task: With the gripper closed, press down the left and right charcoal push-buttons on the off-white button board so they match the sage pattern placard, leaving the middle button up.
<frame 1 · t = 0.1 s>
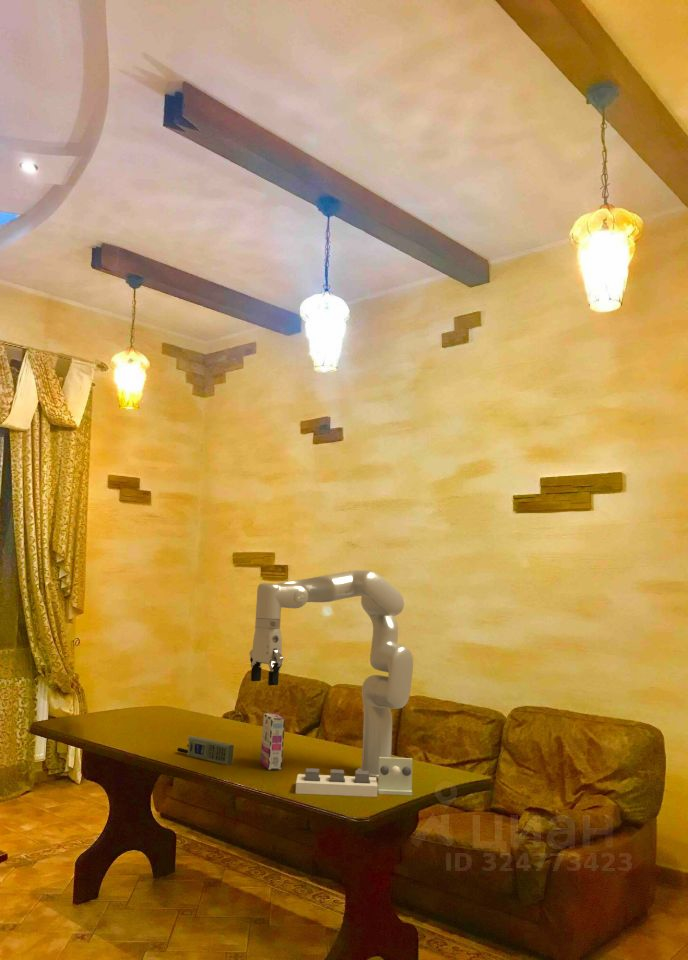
hand: (264, 683, 214), 31 cm above the table, tool pointing down, fingers open, 9 cm apart
middle button: (337, 777, 215), point 4 cm above the table, slide at 0.0 cm
handheld radio: (203, 759, 247), on the table
candy bar box: (271, 766, 241), on the table
left button: (312, 775, 215), point 4 cm above the table, slide at 0.0 cm
right button: (361, 778, 215), point 4 cm above the table, slide at 0.0 cm
pattern placard: (394, 792, 215), on the table
button board: (336, 790, 215), on the table
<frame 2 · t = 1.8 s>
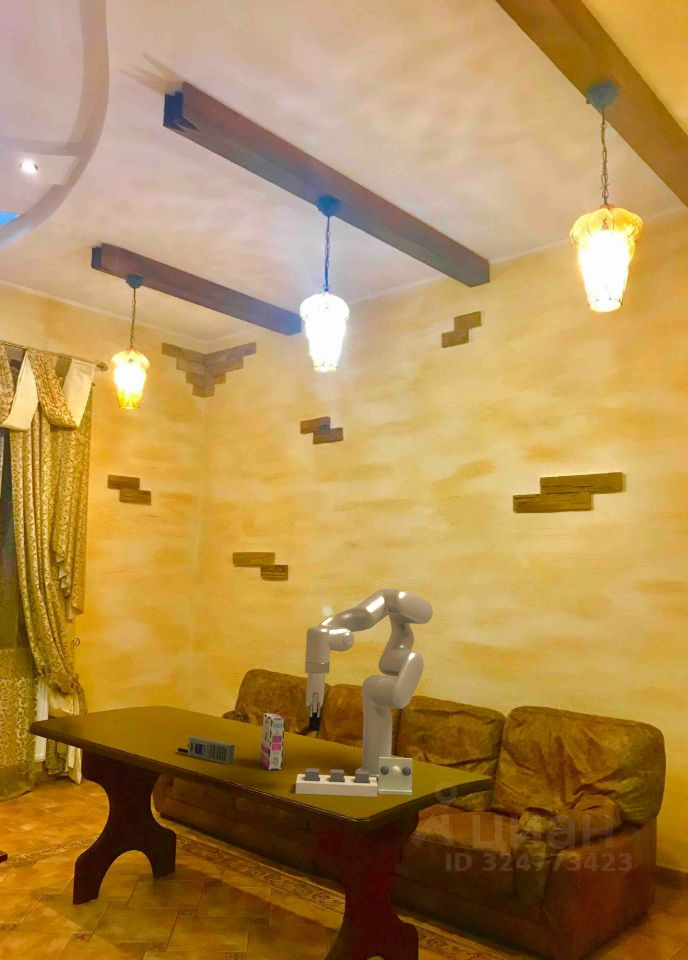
hand: (314, 730, 217), 17 cm above the table, tool pointing down, fingers closed
nothing on the table moved.
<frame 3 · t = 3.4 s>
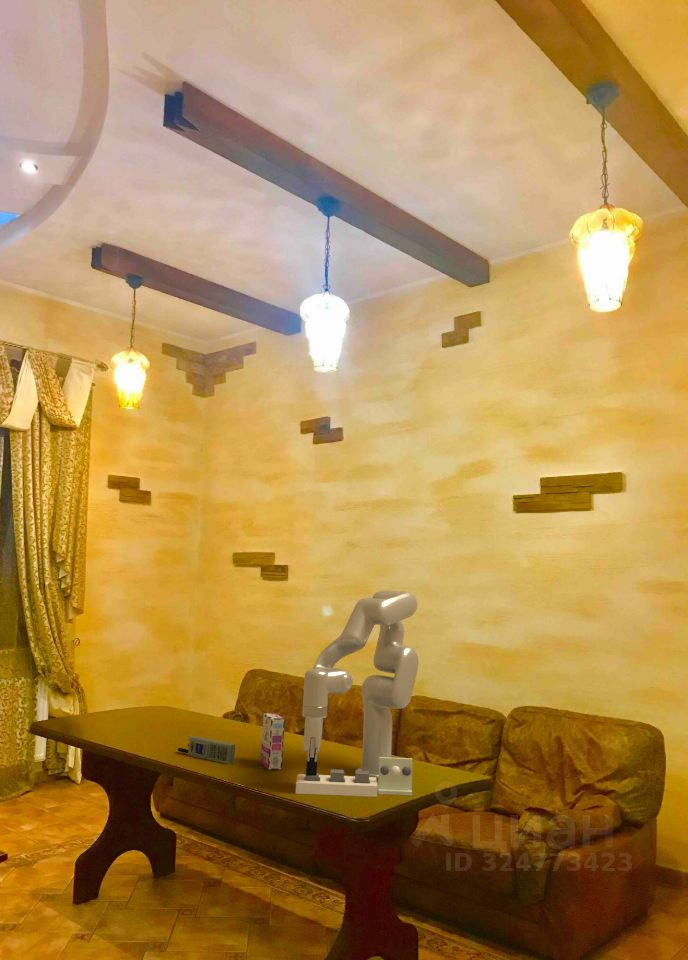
hand: (311, 774, 215), 4 cm above the table, tool pointing down, fingers closed
left button: (311, 780, 215), point 3 cm above the table, slide at 1.3 cm, touching gripper
everything else where it was.
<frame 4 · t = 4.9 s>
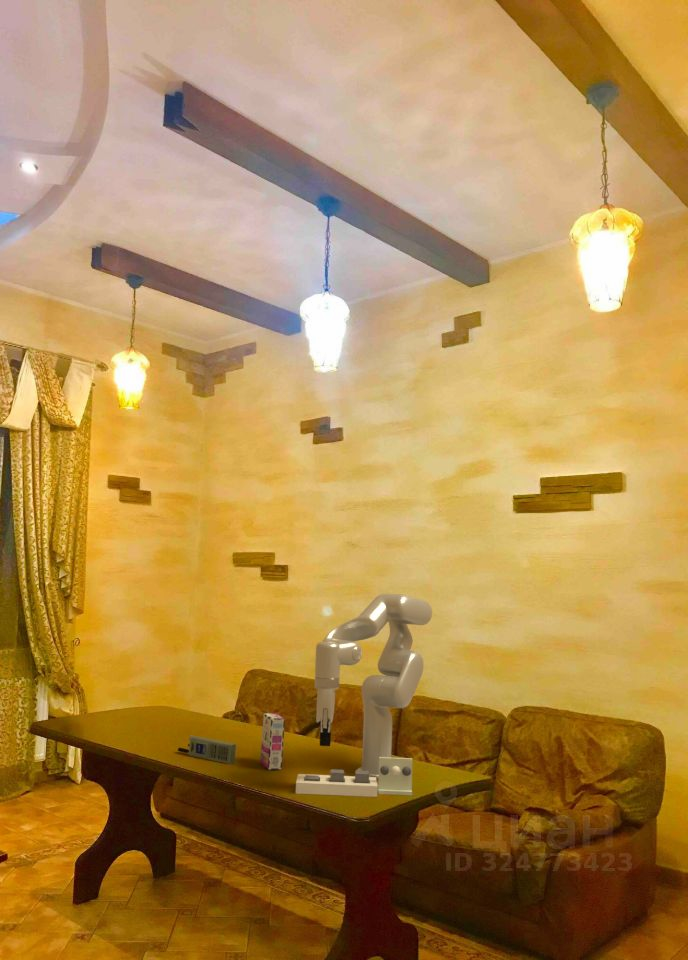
hand: (325, 745, 217), 13 cm above the table, tool pointing down, fingers closed
left button: (311, 782, 215), point 2 cm above the table, slide at 2.0 cm
everything else where it was.
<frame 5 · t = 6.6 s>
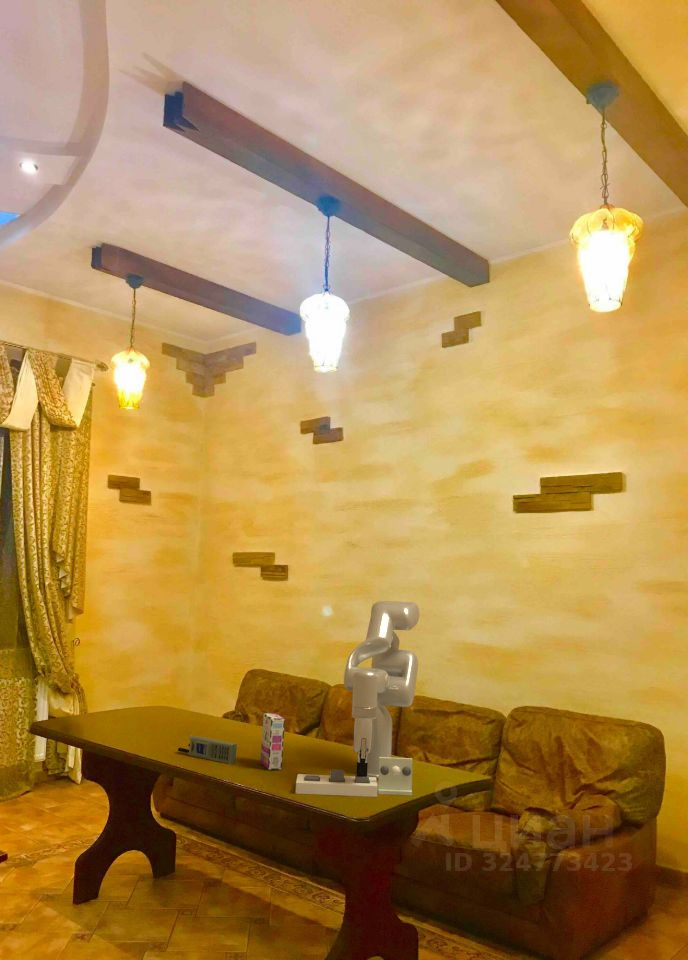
hand: (361, 775, 215), 5 cm above the table, tool pointing down, fingers closed
right button: (361, 781, 215), point 3 cm above the table, slide at 1.0 cm, touching gripper
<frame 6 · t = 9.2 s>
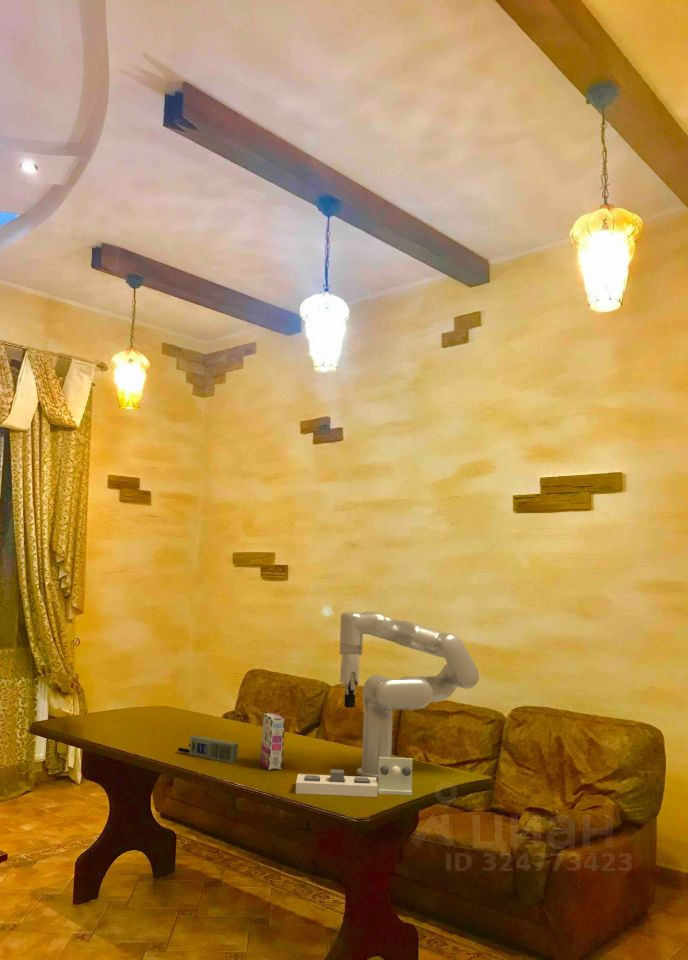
hand: (349, 706, 236), 21 cm above the table, tool pointing down, fingers closed
right button: (361, 784, 215), point 2 cm above the table, slide at 2.0 cm
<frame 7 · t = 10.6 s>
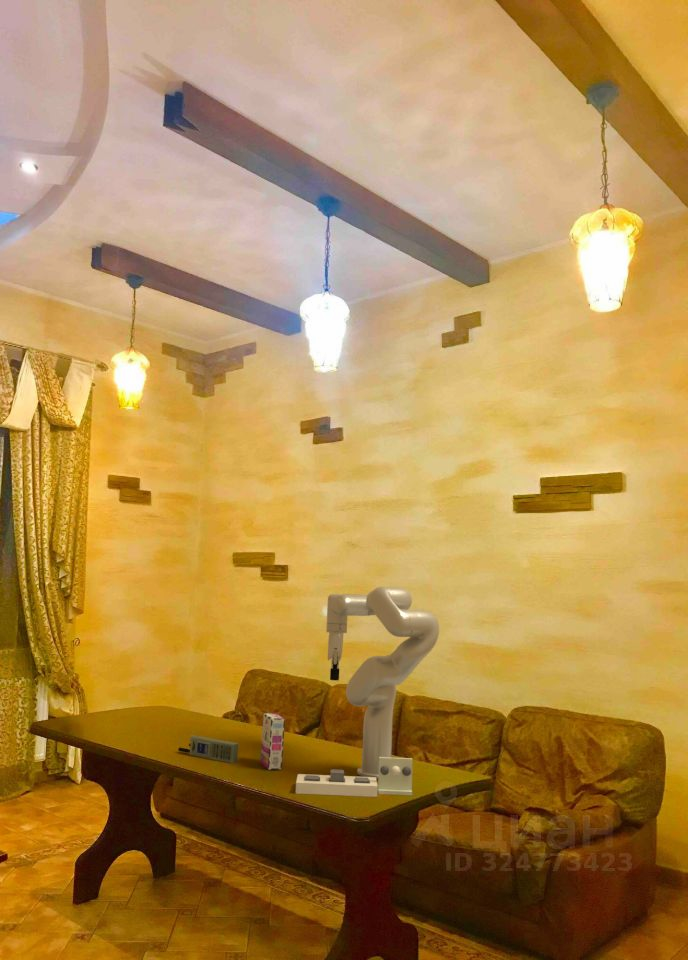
hand: (334, 679, 260), 27 cm above the table, tool pointing down, fingers closed
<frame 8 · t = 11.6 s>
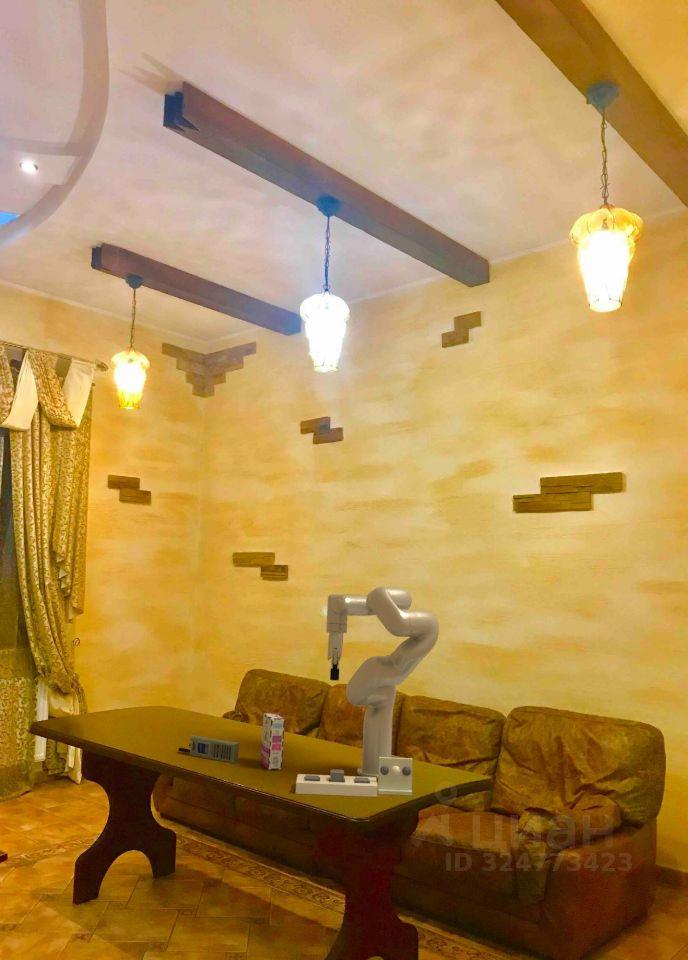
hand: (334, 680, 260), 27 cm above the table, tool pointing down, fingers closed
at the end: left button slide at 2.0 cm; right button slide at 2.0 cm; middle button slide at 0.0 cm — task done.
